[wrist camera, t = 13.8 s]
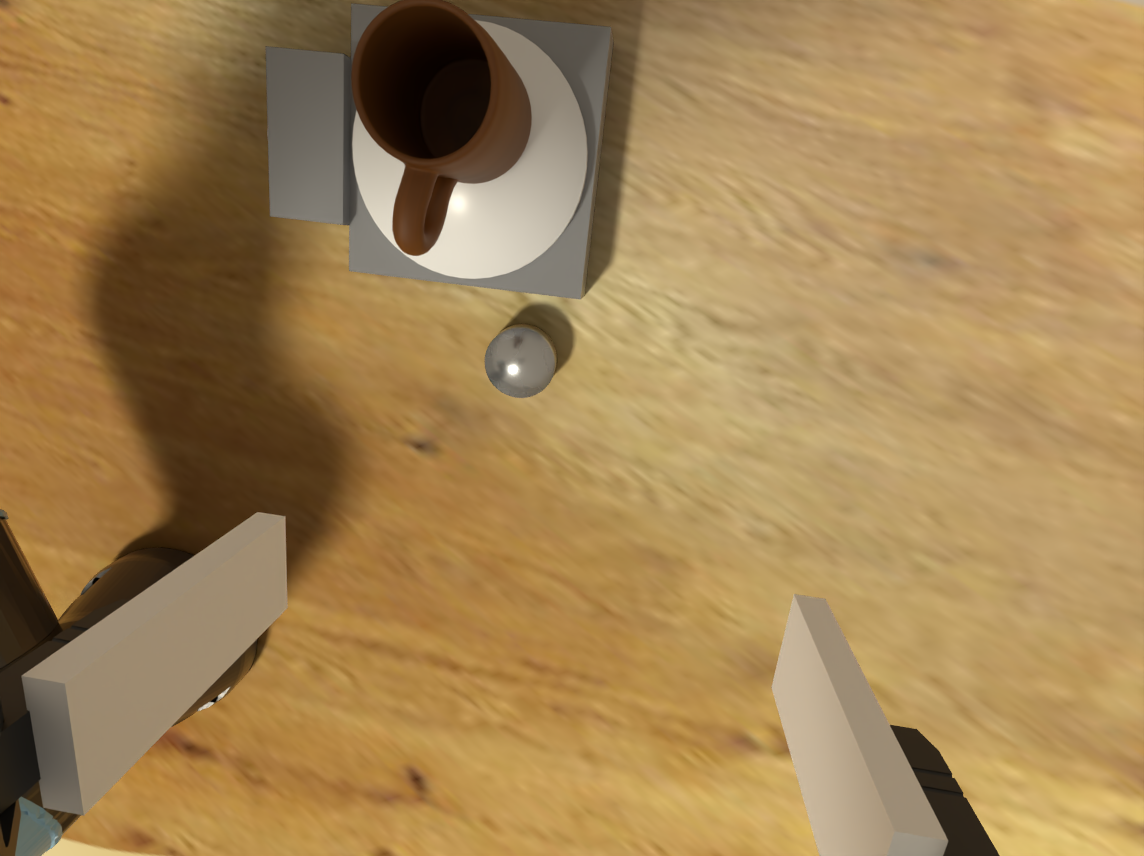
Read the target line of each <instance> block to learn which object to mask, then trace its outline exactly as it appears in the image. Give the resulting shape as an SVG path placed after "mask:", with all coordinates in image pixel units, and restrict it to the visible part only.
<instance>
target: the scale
mask: <svg viewBox="0 0 1144 856" xmlns="http://www.w3.org/2000/svg"><path fill="white" fill-rule="evenodd" d="M386 8H387V7H385V6H374V5H363V4H352V3H351V58H350V57H348V56H346V55H345V54H341V53H330V52H320V51H310V50H299V49H289V48H279V47H268V46H266V80H267V119H268V158H269V197H270V216H272V217H280V218H289V219H297V220H306V221H314V222H323V223H332V224H340V225H350V226H349V271H353V272H361V273H370V274H378V275H386V276H394V277H402V278H410V279H419V280H427V281H435V282H443V283H451V284H459V285H467V286H476V287H484V288H492V289H500V290H508V291H516V292H525V293H533V294H541V295H549V296H557V297H565V298H574V299H582V298H583V297H584V296H585V288H586V279H587V271H588V262H589V253H590V244H591V235H592V227H593V218H594V209H595V200H596V192H597V183H598V174H599V165H600V157H601V148H602V139H603V130H604V121H605V113H606V104H607V95H608V86H609V78H610V69H611V60H612V51H613V43H614V42H613V36H612V29H611V27H606V26H595V25H584V24H573V23H562V22H551V21H540V20H529V19H518V18H507V17H495V16H484V15H473V14H468V15H469V16H470V17H472V18H473V19H474V20H475V21H476V22H477V23H478V24H480V25H481V26H482V27H483V28H484V29H485V30H486V31H487V32H488V34H489V35H490V36H491V37H492V38H493V40H494V41H495V42H496V44H497V45H498V46H499V48H500V49H501V50H502V52H503V53H504V54H505V56H506V57H507V59H508V60H509V62H510V63H511V65H512V66H513V67H514V69H515V70H516V72H517V73H518V75H519V76H520V78H521V79H522V82H523V84H524V86H525V88H526V90H527V93H528V96H529V100H530V105H531V114H532V122H531V131H530V136H529V139H528V143H527V145H526V148H525V150H524V152H523V153H522V155H521V157H520V158H519V160H518V161H517V162H516V164H515V165H514V166H513V167H512V168H511V169H510V170H508V171H507V172H506V173H505V174H503V175H501V176H500V177H498V178H496V179H494V180H491V181H488V182H484V183H478V184H467V183H460V182H457V184H456V185H455V187H454V189H453V192H452V195H451V198H450V201H449V205H448V210H447V215H446V219H445V222H444V226H443V229H442V231H441V234H440V236H439V238H438V240H437V242H436V243H435V245H434V246H433V247H432V248H431V249H430V250H429V251H428V252H427V253H425V254H423V255H420V256H412V255H408V254H406V253H404V252H403V251H402V250H401V249H400V248H399V247H398V245H397V244H396V242H395V239H394V235H393V231H392V218H393V209H394V203H395V199H396V195H397V192H398V189H399V186H400V183H401V179H402V176H403V173H404V169H405V165H404V163H403V162H401V161H400V160H398V159H396V158H394V157H393V156H391V155H390V154H388V153H387V152H386V151H384V150H383V149H382V148H381V147H380V146H379V145H378V144H377V143H376V142H375V141H374V140H373V139H372V138H371V136H370V135H369V133H368V132H367V130H366V129H365V127H364V125H363V124H362V122H361V120H360V117H359V115H358V112H357V110H356V106H355V103H354V99H353V93H352V82H351V74H352V63H353V58H354V54H355V51H356V47H357V44H358V42H359V40H360V38H361V36H362V34H363V32H364V31H365V29H366V28H367V26H368V25H369V24H370V22H371V21H372V20H373V19H374V18H375V17H376V16H377V15H378V14H379V13H380V12H382V11H383V10H384V9H386Z"/></svg>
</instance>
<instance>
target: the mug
mask: <svg viewBox="0 0 1144 856" xmlns="http://www.w3.org/2000/svg"><path fill="white" fill-rule="evenodd" d="M351 82H352V93H353V99H354V103H355V106H356V110H357V112H358V115H359V117H360V120H361V122H362V124H363V125H364V127H365V129H366V130H367V132H368V133H369V135H370V136H371V138H372V139H373V140H374V141H375V142H376V143H377V144H378V145H379V146H380V147H381V148H382V149H383V150H384V151H386V152H387V153H388V154H390V155H391V156H393V157H394V158H396V159H398V160H400V161H401V162H403V163H404V165H405V169H404V173H403V176H402V179H401V183H400V186H399V189H398V192H397V195H396V199H395V203H394V209H393V218H392V231H393V235H394V239H395V242H396V244H397V245H398V247H399V248H400V249H401V250H402V251H403V252H404V253H406V254H408V255H412V256H420V255H423V254H425V253H427V252H428V251H429V250H430V249H431V248H432V247H433V246H434V245H435V243H436V242H437V240H438V238H439V236H440V234H441V231H442V229H443V226H444V222H445V219H446V215H447V210H448V205H449V201H450V198H451V195H452V192H453V189H454V187H455V185H456V184H457V182H460V183H467V184H478V183H484V182H488V181H491V180H494V179H496V178H498V177H500V176H501V175H503V174H505V173H506V172H507V171H508V170H510V169H511V168H512V167H513V166H514V165H515V164H516V162H517V161H518V160H519V158H520V157H521V155H522V153H523V152H524V150H525V148H526V145H527V143H528V139H529V136H530V131H531V122H532V114H531V105H530V100H529V96H528V93H527V90H526V88H525V86H524V84H523V82H522V79H521V78H520V76H519V75H518V73H517V72H516V70H515V69H514V67H513V66H512V65H511V63H510V62H509V60H508V59H507V57H506V56H505V54H504V53H503V52H502V50H501V49H500V48H499V46H498V45H497V44H496V42H495V41H494V40H493V38H492V37H491V36H490V35H489V34H488V32H487V31H486V30H485V29H484V28H483V27H482V26H481V25H480V24H478V23H477V22H476V21H475V20H474V19H473V18H472V17H470V16H469V15H468V14H467V13H466V12H464V11H463V10H461V9H460V8H459V7H457V6H455V5H453V4H451V3H449V2H446V1H443V0H402V1H399V2H397V3H395V4H393V5H391V6H389V7H387V8H386V9H384V10H383V11H382V12H380V13H379V14H378V15H377V16H376V17H375V18H374V19H373V20H372V21H371V22H370V24H369V25H368V26H367V28H366V29H365V31H364V32H363V34H362V36H361V38H360V40H359V42H358V44H357V47H356V51H355V54H354V58H353V63H352V74H351Z"/></svg>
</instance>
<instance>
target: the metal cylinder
mask: <svg viewBox="0 0 1144 856" xmlns="http://www.w3.org/2000/svg"><path fill="white" fill-rule="evenodd" d="M556 364H557V353H556V349H555V346H554V344H553V342H552V340H551V339H550V337H549V336H548V335H547V334H546V333H545V332H544V331H543V330H541V329H539V328H538V327H535V326H532V325H528V324H516V325H512V326H509V327H507V328H505V329H504V330H502V331H501V332H500V333H499V334H498V335H497V336H496V337H495V338H494V339H493V340H492V342H491V343H490V345H489V346H488V349H487V351H486V355H485V369H486V373H487V375H488V378H489V379H490V381H491V382H492V384H493V385H494V386H495V387H496V388H497V389H498V390H499V391H501V392H502V393H504V394H506V395H509V396H512V397H517V398H525V397H531V396H533V395H536V394H538V393H539V392H541V391H542V390H543V389H545V388H546V387H547V385H548V384H549V383H550V381H551V379H552V377H553V374H554V371H555V368H556Z"/></svg>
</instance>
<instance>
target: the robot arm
mask: <svg viewBox="0 0 1144 856" xmlns="http://www.w3.org/2000/svg"><path fill="white" fill-rule="evenodd" d="M7 519H8V515H7V513H6V512H5V511H4V510H1V509H0V856H41V855H42V854H43V853H45V852H46V851H48V850H49V849H51V848H53V847H54V846H55V845H56V844H57V843H58V842H59V840H60V839H61V836H62V834H63V833H64V832H65V831H66V830H67V829H68V828H69V827H70V826H71V825H72V824H73V823H74V822H75V821H76V820H77V819H78V818H79V817H80V816H81V815H85V814H86V813H87V812H88V811H89V810H90V809H91V808H92V807H93V806H94V805H95V804H96V803H97V802H98V801H99V800H100V799H101V798H102V797H103V796H104V795H105V794H106V793H107V791H108V790H109V789H110V788H111V787H112V786H113V785H114V784H115V783H116V782H117V781H118V780H119V779H120V778H121V777H122V776H123V775H124V774H125V773H126V772H127V771H128V770H129V769H130V768H131V767H132V766H133V765H134V764H135V763H136V762H137V761H138V760H139V759H140V758H141V757H142V756H143V755H144V754H145V753H146V752H147V751H148V750H149V749H150V748H151V747H152V746H153V745H154V744H155V743H156V742H157V740H158V739H159V738H160V737H161V736H162V735H163V734H164V733H165V732H166V731H167V730H168V729H169V728H170V727H172V726H174V725H176V724H178V723H180V722H181V721H183V720H185V719H187V718H188V717H190V716H191V715H193V714H194V713H195V712H197V711H200V710H203V709H205V708H207V707H209V706H211V705H213V704H215V703H217V702H218V701H220V700H221V699H222V698H224V697H225V696H226V695H227V694H228V693H229V692H230V691H231V690H232V689H233V688H234V687H235V686H236V685H237V684H238V683H239V682H240V681H241V680H242V678H243V677H244V676H245V675H246V674H247V672H248V671H249V669H250V668H251V666H252V664H253V661H254V658H255V655H256V649H257V638H258V637H259V636H260V635H261V634H262V633H263V632H264V631H265V630H266V629H267V628H268V627H269V626H270V625H271V624H272V623H273V622H274V621H275V620H276V619H277V618H278V617H279V616H280V615H281V614H282V613H283V612H284V611H285V610H286V609H287V567H286V521H285V516H280V515H274V514H267V513H261V512H257V513H255V514H254V515H253V516H251V517H250V518H248V519H247V520H245V521H244V522H242V523H241V524H240V525H238V526H237V527H235V528H234V529H232V530H231V531H229V532H228V533H227V534H225V535H224V536H222V537H221V538H219V539H218V540H216V541H215V542H214V543H212V544H211V545H209V546H208V547H206V548H205V549H204V550H202V551H201V552H199V553H198V554H196V555H195V556H194V555H191V554H189V553H186V552H183V551H179V550H174V549H168V548H146V549H141V550H137V551H134V552H131V553H129V554H127V555H125V556H123V557H122V558H120V559H118V560H117V561H115V562H113V563H112V564H110V565H108V566H107V567H105V568H104V569H102V570H101V571H100V572H98V573H97V574H96V575H95V576H94V577H93V578H92V579H91V580H90V581H89V583H88V584H87V585H86V586H85V588H84V589H83V591H82V593H81V595H80V596H79V597H78V598H77V599H76V600H75V601H74V602H73V603H72V604H71V605H70V606H69V607H68V609H67V610H66V611H65V612H64V613H63V615H62V616H61V617H60V618H59V620H58V619H57V617H56V615H55V613H54V611H53V609H52V608H51V606H50V604H49V602H48V600H47V598H46V596H45V594H44V592H43V590H42V588H41V586H40V584H39V583H38V581H37V579H36V577H35V575H34V573H33V571H32V569H31V567H30V565H29V563H28V561H27V559H26V558H25V556H24V554H23V552H22V550H21V548H20V546H19V544H18V542H17V540H16V538H15V536H14V534H13V533H12V531H11V529H10V527H9V525H8V523H7V521H6V520H7ZM772 691H773V694H774V698H775V701H776V705H777V708H778V712H779V715H780V719H781V722H782V726H783V729H784V733H785V736H786V740H787V743H788V747H789V750H790V754H791V757H792V761H793V764H794V768H795V771H796V775H797V778H798V782H799V785H800V789H801V792H802V796H803V799H804V803H805V806H806V810H807V813H808V817H809V820H810V824H811V827H812V831H813V834H814V838H815V841H816V845H817V848H818V852H819V855H820V856H999V854H998V852H997V850H996V849H995V847H994V845H993V844H992V842H991V840H990V838H989V837H988V835H987V833H986V831H985V830H984V828H983V826H982V825H981V823H980V821H979V819H978V818H977V816H976V814H975V812H974V811H973V809H972V807H971V806H970V804H969V802H968V800H967V799H966V798H964V797H963V792H962V790H961V788H960V787H959V785H958V783H957V781H956V780H955V778H952V773H951V771H950V769H949V768H948V766H947V764H946V762H945V761H944V759H943V757H942V756H941V754H940V752H939V751H938V750H937V749H936V748H935V747H934V746H933V745H932V744H931V743H930V742H929V741H928V740H927V739H926V738H925V737H924V736H923V735H922V734H921V733H920V732H919V731H918V730H917V729H912V728H906V727H900V726H894V725H889V723H888V721H887V719H886V717H885V715H884V713H883V711H882V709H881V707H880V705H879V703H878V701H877V699H876V697H875V695H874V693H873V691H872V689H871V687H870V686H869V684H868V682H867V680H866V678H865V676H864V674H863V672H862V670H861V668H860V666H859V664H858V662H857V660H856V658H855V656H854V654H853V652H852V650H851V648H850V646H849V644H848V642H847V640H846V638H845V636H844V634H843V632H842V630H841V628H840V626H839V624H838V623H837V621H836V619H835V617H834V615H833V613H832V611H831V609H830V607H829V605H828V603H827V601H826V599H822V598H816V597H809V596H803V595H796V594H794V596H793V600H792V604H791V609H790V613H789V617H788V621H787V625H786V629H785V634H784V638H783V642H782V646H781V650H780V655H779V659H778V663H777V667H776V671H775V675H774V680H773V684H772Z"/></svg>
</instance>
